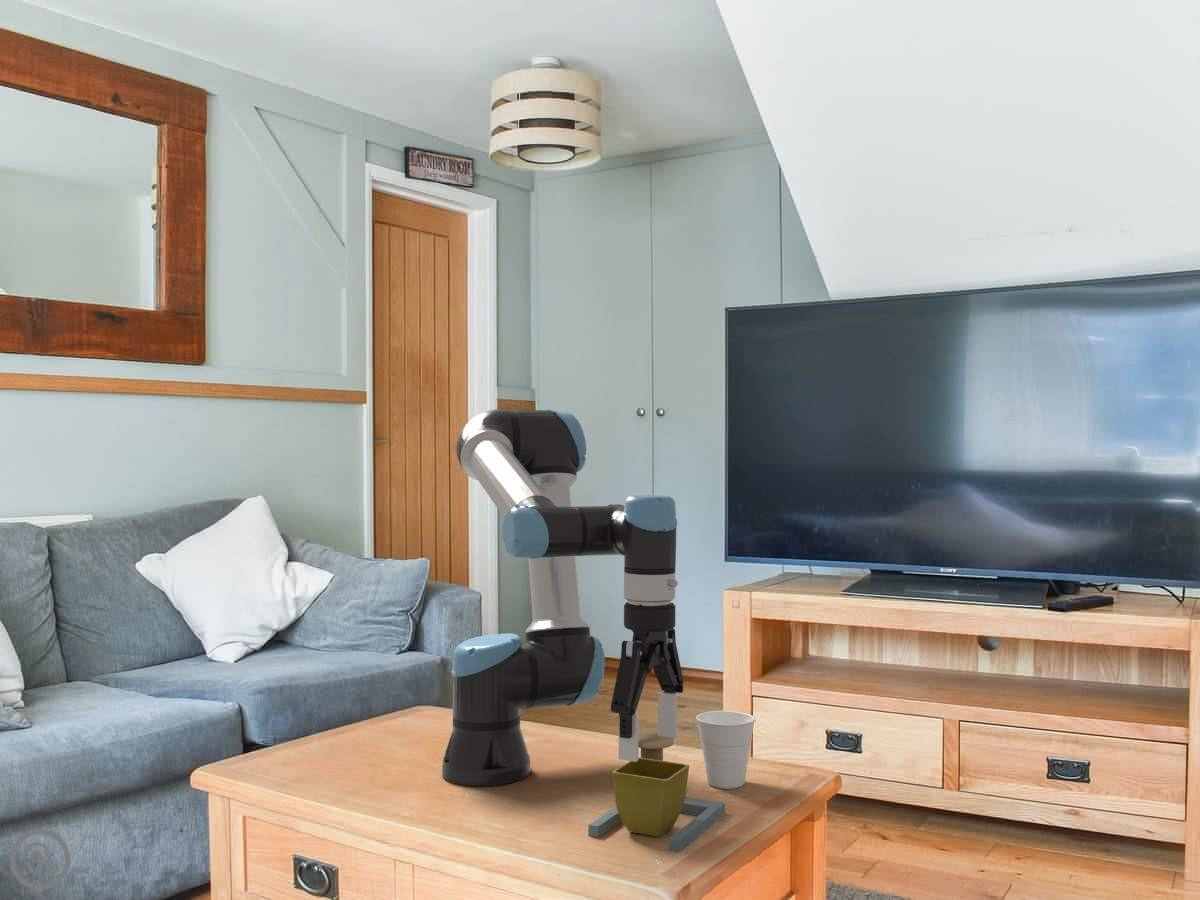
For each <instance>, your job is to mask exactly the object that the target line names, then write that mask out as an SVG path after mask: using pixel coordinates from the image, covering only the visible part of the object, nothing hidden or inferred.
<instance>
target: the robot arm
mask: <svg viewBox="0 0 1200 900" xmlns="http://www.w3.org/2000/svg"><path fill="white" fill-rule="evenodd" d="M582 427H583V426H582V425H581V423H580V421H579V420H578V419H577V418H576V416H575V415H573V414H572V413H570V412H568V411H561V410H553V409H544V410H543V409H537V410H536V409H533V410H532V409H504V408H503V409H502V408H501V409H500V408H498V409H489V410H487V411H483V412H481V413H479V414H478V415H476V416H474V417H472V418H471V419H470V420H469V421H468V422H467V423H466V424H465V425H464V426H463V427H462V429H461V431H460V433H459V434H458V437H457V441H456V447H455V448H456V449H455V453H456V458H457V460H458V462H459V465H460V466H461V468H462V469H463V471H464V472H465V473H466V475H467V476H468V477H470V478H472V479H473V480H476V481H478V482H479V484H480V485H481V486H482V488H483V490H484V491H485V492H486V494H487V495H488V497H489V498H490V500H491V501H492V502H493V504H494V505H495V507H496V508H497V509H498V511H499V512H500V514H501V515H502V517H503V522H502V541H503V543H504V548H505V551H506V552H507V553H508V554H509V556H510V557H513V558H526V559H527V558H528V569H529V572H528V573H529V583H530V584H529V585H530V595H531V597H530V599H531V612H532V621H531V624H530V625H529V626H527V627H528V628H526V630H525V641H522V640H521V638H520V636H519V635H518V634H515V633H508V632H506V633H499V634H498V633H493V634H492V633H491V634H486V635H481V636H480V635H479V636H476V637H472V638H470V639H467V640H464V641H463V642H461V643H459V644H458V645H457V646H456V647H455V648H454V651H453V655H452V657H453V658H452V668H451V676H452V731H451V733H450V737H449V740H448V743H447V745H446V748H445V749H446V750H445V753H444V757H443V759H442V764H441V765H442V766H441V767H442V772H441V774H442V777H443V778H444V780H446V781H448V782H451V783H453V784H454V783H455V784H457V785H458V784H459V785H464V786H477V787H480V786H481V787H482V786H483V787H486V786H487V787H488V786H498V785H505V784H510V783H515V782H518V781H522V780H523V779H525V778H527V777H528V776H529V775H530V774H531V758H530V755H529V752H528V748H527V746H526V745H527V744H526V742H525V738H524V735H523V732H522V730H521V711H522V710H528V709H529V710H530V709H538V708H539V709H540V708H548V707H549V708H550V707H559V706H569V707H570V706H573V705H574V706H575V705H576V704H582V703H588V702H590V701H592V700H593V699H594V698H595V697H596V696H597V695H598V693H599V691H600V688H601V686H602V683H603V680H604V675H605V664H606V663H605V652H604V648H603V646H602V642H601V640H600V639H599V638H598V637H597V636H594V635H591V632H590V630H591V629H590V625H589V624H588V623H587V622H586V621H585V620H583V618H582V617H581V612H580V611H581V609H580V599H579V598H580V597H579V588H578V587H579V585H578V574H577V563H576V562H577V561H576V557H583V556H585V557H587V556H591V557H592V556H593V557H594V556H623V558H624V562H623V563H624V567H623V568H624V569H623V598H624V599H625V600H627V602H625V604H624V605H623V626H624V628H625V629H627V630H630V631H631V632H632V634H633V635H632V639H631V641H630V640H623V641H622V642H621V651H620V660H619V666H618V668H617V675H616V680H615V684H614V689H613V694H612V699H611V703H610V711H611V713H613V714H618V760H621V761H627V762H629V761H633V762H637V761H638V758H639V748H638V739H639V728H640V727H639V725H640V724H639V723H640V722H639V721H640V719H639V717H640V715H639V714H640V713H636V711H637V708H638V705H639V701H640V700H641V699H640V698H641V696H642V692H643V688H644V685H645V682H646V679H647V676H648V674H650V673H651V672H652V670H653V672H654V674H655V676H656V679H657V682H658V685H659V687H660V690H661V691H659V692H658V698H657V699H658V701H657V702H658V705H657V709H658V711H657V713H658V714H657V715H658V716H657V717H658V718H657V719H658V722H657V723H658V724H657V732H658V736H665V737H672V738H673V739H676V738H677V728H678V727H677V726H678V725H677V723H678V722H677V719H678V718H677V717H678V714H677V712H678V711H677V709H678V701H677V700H678V694H677V693H679V694H682V693H683V692H684V677H683V672H682V668H681V667H682V666H681V661H680V657H679V652H678V647H677V642H676V641H677V640H676V639H677V638H676V630H675V627H676V605H675V603H673V602H672V601H673V600H675V599H676V588H677V587H678V586H679V582H678V580H676V568H677V567H676V566H677V564H676V563H677V562H676V561H677V560H676V559H677V526H678V519H677V517H676V515H677V512H676V501H675V500H674V498H673V497H671V496H668V495H656V494H655V495H654V494H653V495H651V494H643V495H629V496H628V497H627V498H626V500H625V502H624V505H623V504H617V503H616V504H606V505H598V506H597V505H596V506H595V505H594V506H593V505H590V506H589V505H588V506H572V504H571V503H572V502H571V490H570V489H571V487H572V486H573V484H574V483H575V482H576V481H577V480H578V476H577V473H578V472H581V470H582V469H583V468H584V467H585V465H586V455H587V443H586V438H585V433H584V430H583V428H582Z"/></svg>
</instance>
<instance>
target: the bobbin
mask: <svg viewBox="0 0 1200 900" xmlns="http://www.w3.org/2000/svg"><path fill="white" fill-rule="evenodd" d="M673 745H674V738H672V737H665V736H658V731H641V732H639V739H638V749H640V758H646V759H653V760H661V761H664V749H666V748H670V747H672V746H673Z"/></svg>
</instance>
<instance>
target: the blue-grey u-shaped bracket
mask: <svg viewBox="0 0 1200 900" xmlns="http://www.w3.org/2000/svg"><path fill="white" fill-rule="evenodd" d="M680 814H686V815H691V816H692V815H693V816H696V817H695V818H693V819H692V820H691V821H690V822H688V823H687V824H686V825H684V826H683V827H682V828H681V829H680V830H678V831H677V832H676V833H675V834H673V835H672V836H671V837H670V838H668V850H669V851H673V852H678V853H680V851H682V850H683V849H684V848H685V847H687V846H688V845H690V843H692V842H693V841H694V840H695V839H696V838H697V837H699V836H700V835H701V834H702V833H704V831H706V830H707V829H708V828H710V827H711V826H712V825H713V824H714V823H715V822H716V821H718V820H719V819H720V818H722V816H723V815H724V814H726V802H721V801H715V800H714V801H713V800H708V799H707V800H706V799H700V798H695V797H690V796H689V797H688V796H687V797H686V796H685V800H684V804H683V807H682V810H681V812H680ZM621 822H622V820H621V818H620V816H619V813H618V810H617V806H615V807H614V808H612V809H611V810H609V811H608V812H606V813H604V814H603V815H602V816H600V817H599V818H596V820H594V821H592V822H590V823H589V824H588V833H587V834H588V836H587V837H589V836H590V837H595V838H599V837H601V836H602V835H603V834H605V833H606V832H607V831H609V830H610V829H612V828H613V827H615V826H617V825H618V824H620V823H621Z"/></svg>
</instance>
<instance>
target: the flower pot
mask: <svg viewBox="0 0 1200 900" xmlns="http://www.w3.org/2000/svg"><path fill="white" fill-rule="evenodd" d="M689 769H690V764H686V763H681V762H673V761H667V760H663V761H661V760H653V759H646V758H641V757H638V761H637V762H633V761H627V762H626V763H624V764H623V765H621V766H619V767H617V768H616V769H615V768H614V770H613V771H612V781H613V782H612V783H613V790H614V800H615V807H617V810H618V813H619V816H620V818H621V820H622V821H621V822H622V824H623V825H624V827H625V829H627V831H628V832H630V833H634V834H640V835H647V836H652V837H657V838H660V837H662V836H663V835H665V834H666V833H667V832H668V831H670V830H671V829H672V828H673V827H674V825H675V824H676V822H677V821H678V820H679V819H678V818H679V816H680V814H681V813H680V812H681V810H682V807H683V804H684V800H685V797H686V793H687V786H688V778H689Z"/></svg>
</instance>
